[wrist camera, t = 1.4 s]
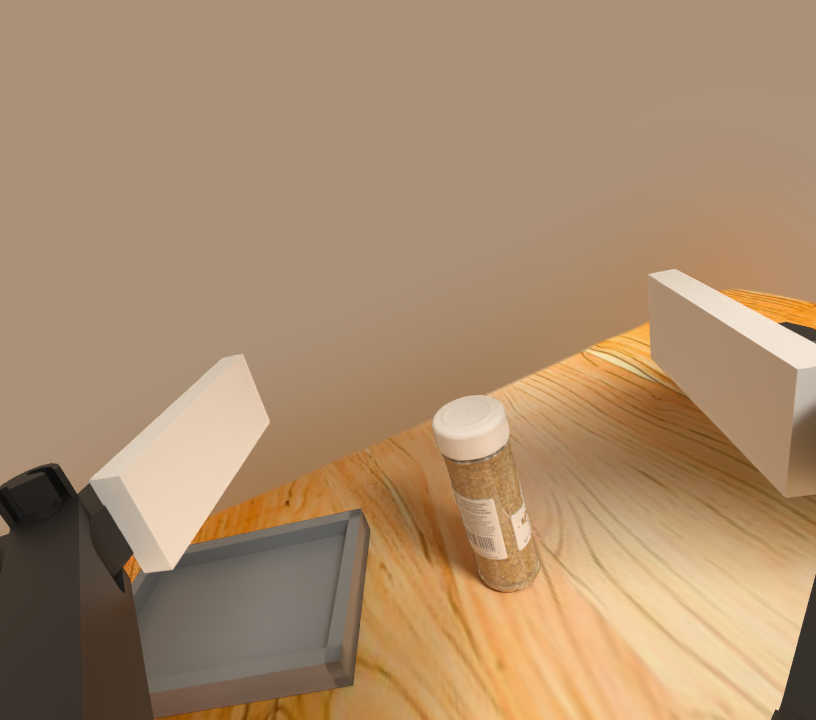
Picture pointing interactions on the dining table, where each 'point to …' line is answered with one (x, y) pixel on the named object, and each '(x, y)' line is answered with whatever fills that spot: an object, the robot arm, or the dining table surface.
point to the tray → (255, 615)
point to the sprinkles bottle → (488, 490)
